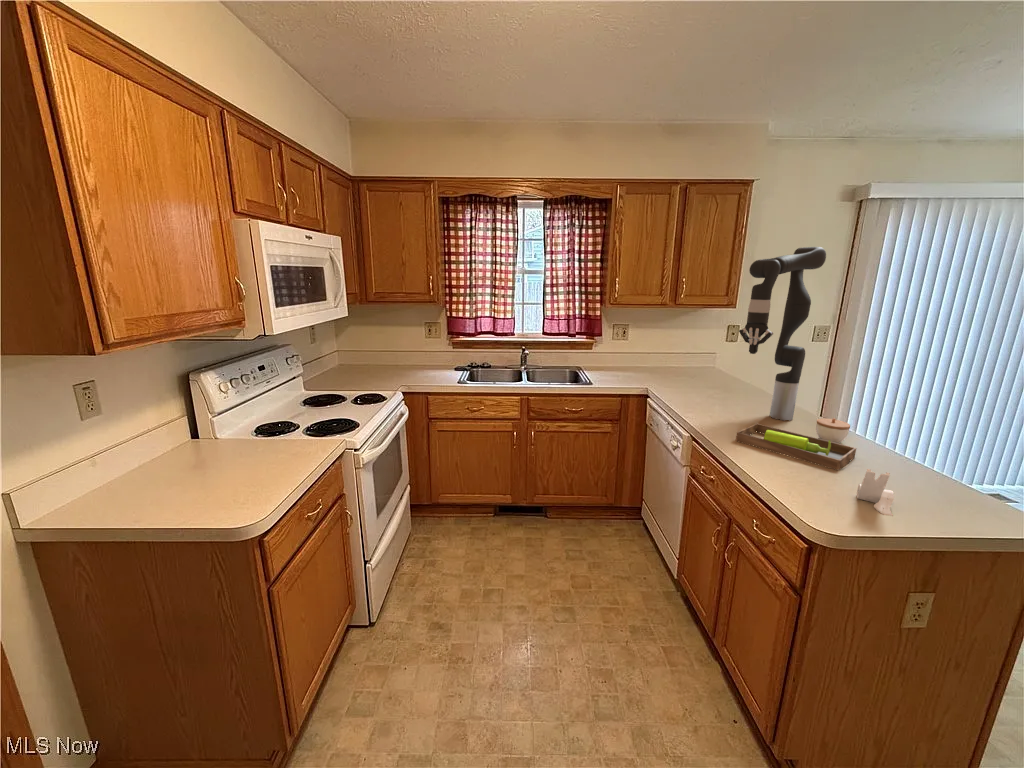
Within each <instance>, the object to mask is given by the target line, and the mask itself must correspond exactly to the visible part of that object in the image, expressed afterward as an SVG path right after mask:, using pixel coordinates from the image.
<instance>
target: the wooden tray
mask: <svg viewBox="0 0 1024 768" xmlns="http://www.w3.org/2000/svg"><path fill="white" fill-rule="evenodd" d="M767 430H772V431H776V432H781V433H785V434H790V435H794V436H799V437H803V438H808V440H809V442H810V443H814V444H819V446H820V447H821V448H826V449H827V448H828V444H829V441H826V440H822V439H820V438H817V437H812V436H808V435H804V434H801V433H796V432H792V431H789V430H785V429H781V428H777V427H774V426H769V425H764V424H761V423H754V424H752V425H751V426H748V427H746V428H743V429H742V430H739V431H737V432H736V435H735V441H736V442H738V441H739V442H740V443H741V442H743V443H742V444H745V443H746V444H745V445H748V444H750V446H752V445H754V446H753V447H755V446H757V447H756V448H759V447H760V449H762V448H763V450H766V449H767V450H766V451H769V450H771V451H770V452H773V451H774V453H776V452H777V454H780V453H781V454H780V455H783V454H785V455H784V456H787V455H788V456H787V457H790V456H791V457H790V458H794V457H795V459H797V458H798V460H801V461H804V460H805V462H808V463H811V462H812V464H815V463H816V465H818V464H819V466H822V467H825V466H826V468H828V467H829V469H833V470H835V469H836V471H840V470H841V469H842V468H843V467H845V466H846V465H847V464H848V463H849V462H851V461H852V460H853V459H854V458H855V456H856V453H857V448H856V447H854V446H850V445H849V446H848V445H845V444H841V443H839V444H838V443H834V442H831V449H830V452H829V455H828V456H827V455H826V453H822V452H818V453H817V454H816V453H813V452H809V451H805V450H802V449H798V448H794V447H791V446H787V445H783V444H779V443H776V442H772V441H768V440H765V439H764V438H761V437H757V436H754V435H753V434H755V433H754V432H756V431H757V432H756V433H758V432H761V433H760V434H762V433H764V434H763V435H765V432H766V431H767ZM752 433H753V434H752ZM750 434H751V435H750ZM851 459H852V460H851ZM850 460H851V461H850ZM845 464H846V465H845Z"/></svg>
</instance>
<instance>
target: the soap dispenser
mask: <svg viewBox="0 0 1024 768" xmlns="http://www.w3.org/2000/svg"><path fill="white" fill-rule="evenodd" d="M763 435H764V437H763V439H765V440H768V441H772V442H776V443H779V444H783V445H787V446H791V447H794V448H798V449H802V450H805V451H809V452H813V453H816V454H817V453H818V452H822V453H826V455H827V456H828V455H829V452H830V449H831V441H830V440H829V444H828V448H827V449H826V448H821V447H820V446H819V444H814V443H810V442H809V440H808V438H803V437H799V436H794V435H790V434H785V433H781V432H776V431H772V430H767V431H766V432H765V434H763Z"/></svg>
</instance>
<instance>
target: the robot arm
mask: <svg viewBox="0 0 1024 768" xmlns="http://www.w3.org/2000/svg"><path fill="white" fill-rule="evenodd" d="M826 260H827V252H826V249H824V248H823V247H821V246H811V247H810V246H808V247H807V246H806V247H798V248H796V249H795V250H794V252H793V254H787V255H781V256H780V255H779V256H776V257H773V258H772V257H770V258H762V259H757V260H755V261H753V262H752V263H751V265H750V267H749V271H748V272H749V274H750V276H752V277H753V278H756V279H764V280H763V281H762V282H761V283H756V284H755V285H752V288H751V294H750V301H749V305H748V309H747V310H748V312H747V317H746V323H745V326H744V328H742V329H739V330H738V332H739V334H740V336H741V337H742V338H743V341H744V342H745V343H748V345H749V347H748V352H749V354H750V355H751V354H752V355H755V354H756V353H758V349H759V345H761V344H764V343H765V342H767V340H769V339H770V338H771V337H773V335H774V332H773V331H771V330H770V329H769V327H768V323H769V318H770V312H771V311H770V310H771V299H772V293H773V292H772V291H773V289H774V286H775V284H776V281H777V279H778V277H779V275H782V274H786V273H790V277H789V285H788V292H787V298H786V301H785V306H784V311H783V318H782V325H781V329H780V334H779V337H778V342H777V344H776V349H775V352H774V363H775V364H776V365H777V366H782V367H783V366H784V367H790V370H789V371H786V372H779V373H777V374H776V375H775V380H774V384H773V385H774V386H773V393H772V399H771V404H770V409H769V410H770V411H769V417H770V416H771V417H772V419H774V418H775V419H774V420H778V419H780V420H779V421H785V420H789V421H792V419H794V413H795V408H796V403H797V398H798V391H799V385H800V379H801V375H802V371H803V366H804V362H805V358H806V349H805V348H804V347H803V346H795V345H789V342H790V340H791V338H792V336H793V335H794V333H795V332H796V331H797V330H798V329H799V328H800V327H801V326H802V324H803V323H804V322H806V320H807V319H808V318H809V315H810V309H811V305H812V300H811V296H810V294H809V292H808V290H807V288H806V286H805V283H804V270H817V269H820V268H822V266H823V265H824V264H825V262H826ZM763 335H764V336H763ZM771 417H770V418H771Z"/></svg>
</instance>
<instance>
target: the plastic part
mask: <svg viewBox="0 0 1024 768" xmlns="http://www.w3.org/2000/svg"><path fill="white" fill-rule="evenodd" d="M890 474H891V473H890V472H885V473H880V475H879V476H878V478H877V479H875V477H876V472H875V471H872V470H871V469H869V468H867V469H866V472H865V474H864V477H863V479H862V482H861V483H858V486H857V490H856V491H857V492H856V499H857V500H862V501H867V502H871V503H875V504H874V505H873V508H874V509H875V510H876V511H877V512H878V513H880V514H881V515H885V516H890V517H893V516H894V514H893V513H892V511H891V509H890V508H891V506H892V505H893V502H894V500H895V499H894V498H895V496H894V494H895V493H894V491H893V490H890V489H885V488H886V486H887V484H888V481H889V479H890V476H891V475H890Z"/></svg>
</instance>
